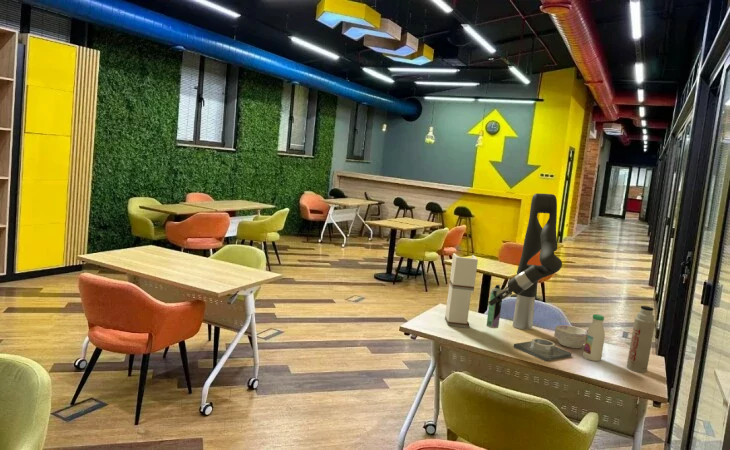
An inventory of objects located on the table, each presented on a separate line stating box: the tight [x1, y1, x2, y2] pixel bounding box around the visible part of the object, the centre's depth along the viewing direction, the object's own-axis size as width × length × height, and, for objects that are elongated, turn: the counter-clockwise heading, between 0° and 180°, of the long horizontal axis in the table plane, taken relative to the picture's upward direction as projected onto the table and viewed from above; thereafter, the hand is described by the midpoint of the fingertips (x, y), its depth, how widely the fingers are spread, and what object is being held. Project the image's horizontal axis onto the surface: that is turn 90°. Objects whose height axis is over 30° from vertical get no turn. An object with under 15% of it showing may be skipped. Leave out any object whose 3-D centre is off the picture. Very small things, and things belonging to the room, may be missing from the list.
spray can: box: [485, 284, 503, 329], centre depth 257 cm, size 6×6×20 cm
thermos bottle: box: [626, 305, 656, 374], centre depth 239 cm, size 8×8×28 cm
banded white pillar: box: [444, 252, 479, 329], centre depth 280 cm, size 11×11×35 cm
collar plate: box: [513, 337, 573, 362], centre depth 251 cm, size 18×18×4 cm
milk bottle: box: [582, 313, 606, 362], centre depth 248 cm, size 8×8×20 cm
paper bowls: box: [554, 324, 587, 349], centre depth 265 cm, size 15×15×8 cm
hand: (491, 302), depth 257 cm, fingers closed on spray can, 5 cm apart
